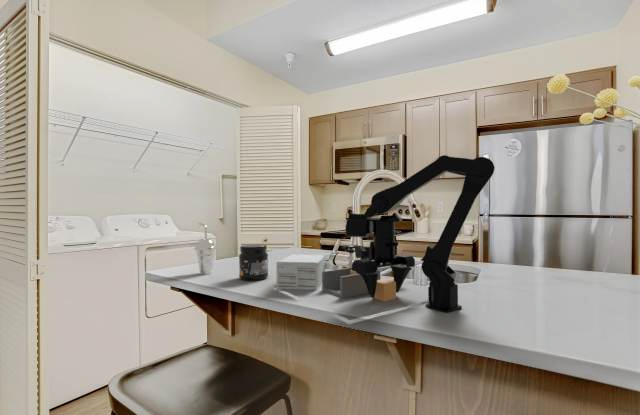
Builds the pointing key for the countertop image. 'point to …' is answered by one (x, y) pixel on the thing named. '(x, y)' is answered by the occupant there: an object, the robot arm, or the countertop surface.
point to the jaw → (385, 290)
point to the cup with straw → (205, 253)
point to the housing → (344, 282)
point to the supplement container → (253, 262)
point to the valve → (350, 253)
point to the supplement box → (300, 272)
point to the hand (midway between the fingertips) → (384, 294)
